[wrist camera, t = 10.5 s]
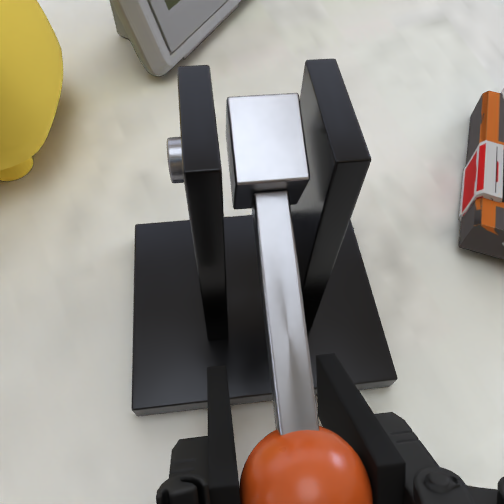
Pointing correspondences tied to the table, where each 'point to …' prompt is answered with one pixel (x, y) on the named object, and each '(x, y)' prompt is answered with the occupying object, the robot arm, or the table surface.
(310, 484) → the switch lever
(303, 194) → the switch bracket
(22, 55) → the teapot
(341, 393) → the robot arm
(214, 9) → the digital clock
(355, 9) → the table surface
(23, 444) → the table surface
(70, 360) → the table surface
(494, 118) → the electronic device
